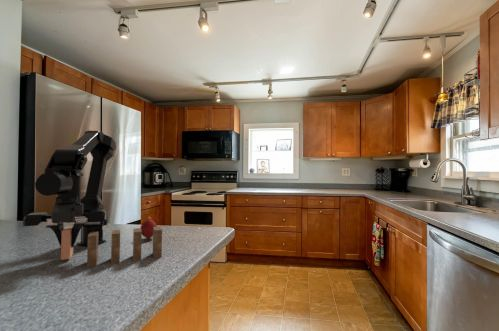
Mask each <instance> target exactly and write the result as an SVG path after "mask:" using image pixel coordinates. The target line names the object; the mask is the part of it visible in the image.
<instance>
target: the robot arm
mask: <svg viewBox="0 0 499 331" xmlns="http://www.w3.org/2000/svg"><path fill="white" fill-rule="evenodd" d="M116 148H117V142H116V141H115V140H114V139H113V137H111V136H109V135H107V134H105V133H104V132H103V131H101V130H86V131H84V134H83V135H82V136H80V137H79V138H78V139H77V140H76V141H74V142H73V143H72V144H70V145H66V146H61V147H59V148H56V149H55V151H54V152H53V153H52V155H51V156H50V159H49V161H48V163H47V165H46V166H45V168H44V173H42V174H41V175H39V176H38V178H36V181H35V182H34V186H35V190H36V191H37V192H38V193H39V194H41V195H42V196H45V197H46V196H54V195H55V196H56V197H55V203H54V205H53V207H52V208H51V211H50V214H48V212H47V211H44V212H43V211H42V212H31V213H29V214H26V215H25V216H23V219H22V220H23V221H22V227H35V226H38V225H40V224H41V223H45V222H46V225H45V228H46V229H50V230H52V231H53V233H54V234H55V237H56V239H57V241H58V243H59V247H61V238H62V230H63V229H64V228H65V227H64V223H68V224H69V223H73V222H74V223H73V224H72V226H73V234H72V241H71V247H73V248H74V246H75V244H76V246H77V245H78V246H84V247H85V246H86V247H88V235H89V233H90V232H98V245H99V244H102V243H105V242H107V240H106V239H104V229H103V227H104V226H107V225H108V222H109V217H108V215H107V210H105V205H104V202H103V201H102V199H101V197H102V191H103V186H104V181H105V174H106V169H107V166H108V165H107V164H108V161H110V159H112V157H114V153H115V151H116ZM89 153H90V155H91V157H92V160H91V163H90V164H91V166H90V169H89V176H88V180H87V185H86V189H85V194H84V196H83V197H81V196H82V195H81V194H82V177H83V176H84V173H83V172H82V170H83V169H84V168H85V166H86V164H87V162H88V157H87V155H89ZM79 234H80V241H78V242H76V241H77V238H78V236H79Z"/></svg>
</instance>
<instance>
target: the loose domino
mask: <svg viewBox="0 0 499 331" xmlns="http://www.w3.org/2000/svg"><path fill="white" fill-rule="evenodd" d="M72 234H73V225H72V226H65V227H64V229H63V230H62V238H61V246H60V249H61V251H60V260H61V261H63V260H70V259H71V258H72V256H73V255H74V246H73V247H71V241H72Z"/></svg>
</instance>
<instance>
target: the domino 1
mask: <svg viewBox="0 0 499 331" xmlns="http://www.w3.org/2000/svg"><path fill="white" fill-rule="evenodd" d="M86 247H87V251H86V252H87V253H86V254H87V255H86V256H87V257H86V267H87V268H90V267H96V266H97V265H98V260H99V244H98V232H90V233H89V235H88V246H86Z"/></svg>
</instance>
